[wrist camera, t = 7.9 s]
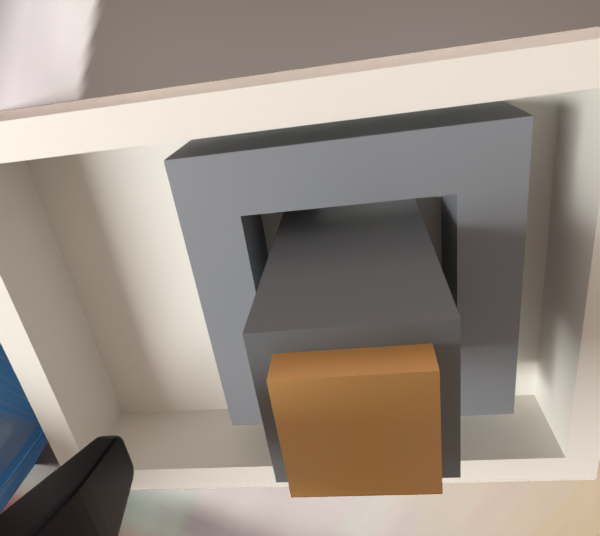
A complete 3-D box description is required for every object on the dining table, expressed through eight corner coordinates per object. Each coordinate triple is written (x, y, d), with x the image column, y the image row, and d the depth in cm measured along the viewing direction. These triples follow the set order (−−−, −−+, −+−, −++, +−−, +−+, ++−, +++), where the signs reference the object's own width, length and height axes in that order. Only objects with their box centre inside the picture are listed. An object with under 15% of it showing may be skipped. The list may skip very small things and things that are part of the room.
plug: (413, 194, 15) (471, 344, 8) (418, 307, 17) (468, 510, 10) (284, 208, 16) (233, 360, 9) (302, 316, 17) (271, 514, 10)
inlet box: (554, 403, 19) (595, 479, 16) (112, 422, 21) (72, 491, 18) (597, 26, 13) (674, 27, 10) (-11, 112, 16) (-100, 135, 12)
